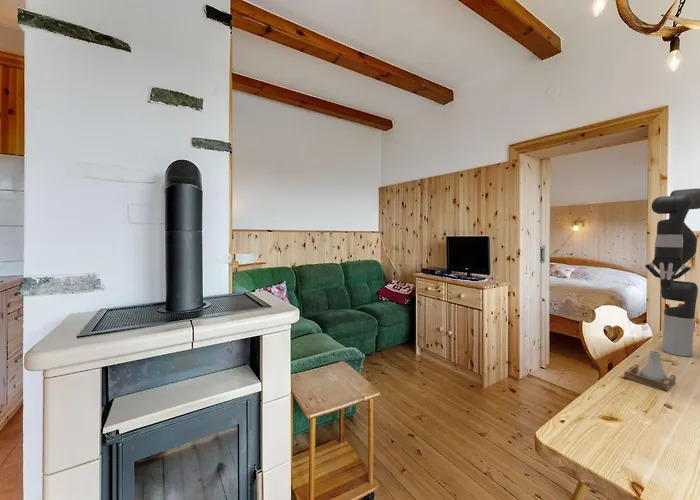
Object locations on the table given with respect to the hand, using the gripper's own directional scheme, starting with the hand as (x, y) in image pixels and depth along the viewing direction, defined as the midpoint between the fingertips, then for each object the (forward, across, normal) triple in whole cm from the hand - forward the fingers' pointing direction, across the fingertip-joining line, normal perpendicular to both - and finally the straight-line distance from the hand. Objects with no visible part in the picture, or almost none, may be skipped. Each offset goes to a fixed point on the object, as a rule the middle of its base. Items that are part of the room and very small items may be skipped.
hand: (665, 288), depth 117 cm
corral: (+32, -1, +19) cm, 38 cm away
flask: (+33, -1, +15) cm, 36 cm away
